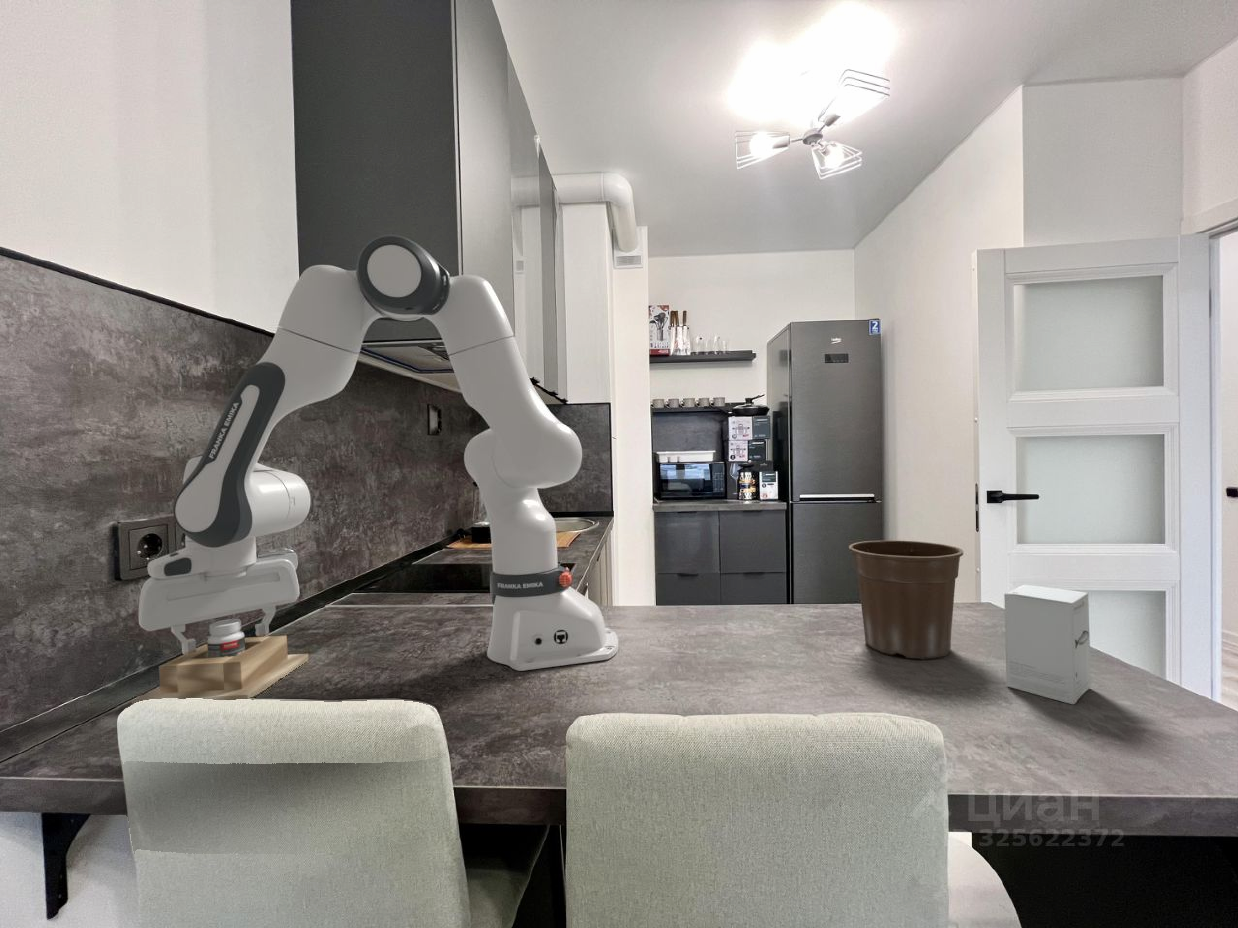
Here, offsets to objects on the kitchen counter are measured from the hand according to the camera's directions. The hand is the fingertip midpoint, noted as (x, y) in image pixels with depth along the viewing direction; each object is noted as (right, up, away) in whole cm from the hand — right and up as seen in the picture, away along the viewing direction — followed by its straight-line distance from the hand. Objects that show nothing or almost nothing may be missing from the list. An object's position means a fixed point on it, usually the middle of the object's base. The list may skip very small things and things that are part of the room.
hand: (227, 643), depth 84 cm
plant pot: (+108, -2, +3) cm, 108 cm away
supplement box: (+118, -1, -14) cm, 119 cm away
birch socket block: (0, -6, 0) cm, 6 cm away
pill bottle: (0, -5, 0) cm, 5 cm away
